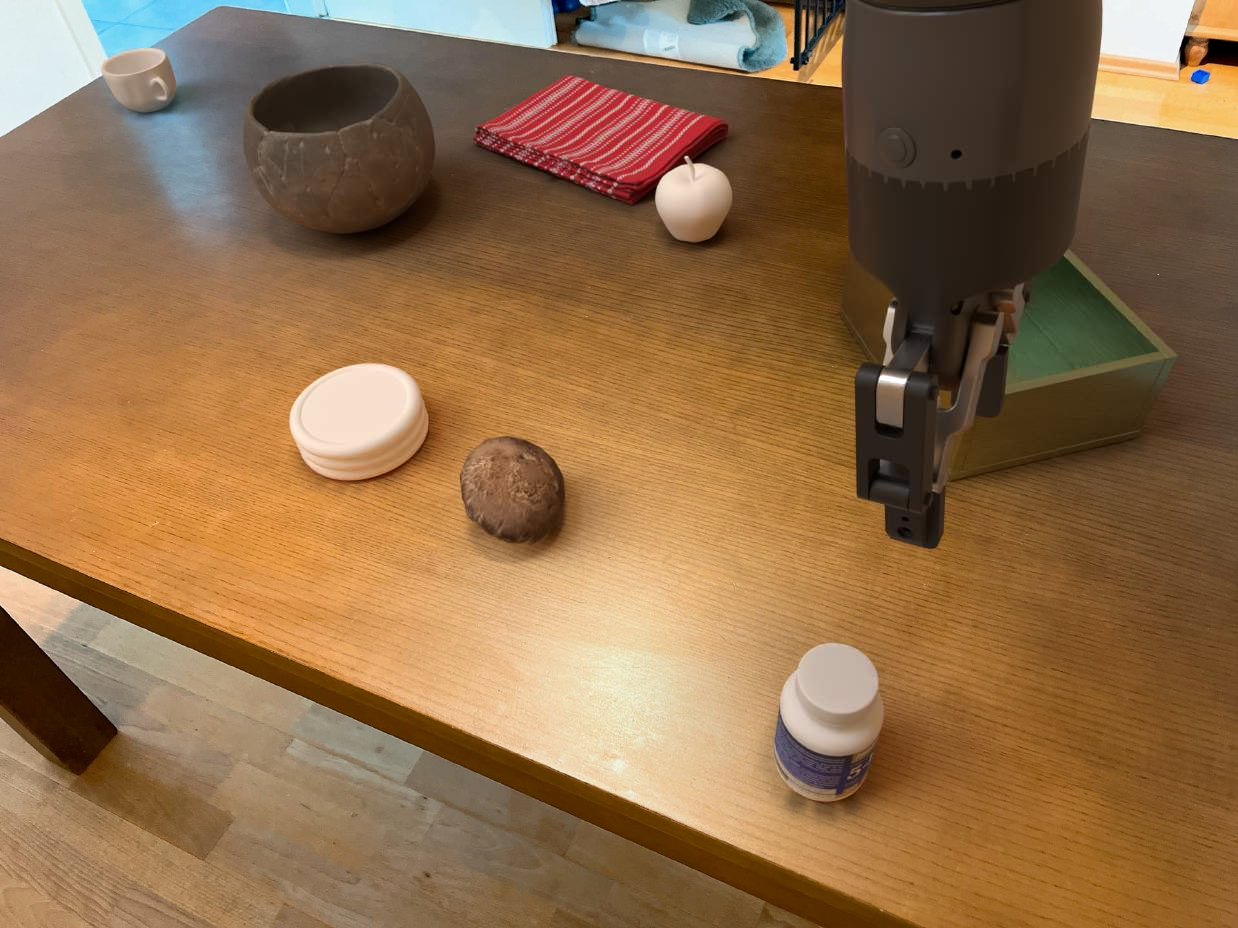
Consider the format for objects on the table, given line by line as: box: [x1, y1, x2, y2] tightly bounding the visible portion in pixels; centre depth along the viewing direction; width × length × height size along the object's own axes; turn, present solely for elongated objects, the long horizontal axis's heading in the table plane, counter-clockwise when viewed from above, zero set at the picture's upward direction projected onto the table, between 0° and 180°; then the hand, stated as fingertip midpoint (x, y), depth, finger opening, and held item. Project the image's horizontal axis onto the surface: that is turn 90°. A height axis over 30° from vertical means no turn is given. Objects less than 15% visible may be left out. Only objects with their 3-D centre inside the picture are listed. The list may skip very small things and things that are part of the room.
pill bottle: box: [773, 642, 885, 802], centre depth 48 cm, size 5×5×9 cm
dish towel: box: [472, 74, 730, 205], centre depth 100 cm, size 17×24×3 cm
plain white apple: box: [654, 156, 733, 243], centre depth 85 cm, size 7×7×8 cm
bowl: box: [242, 62, 436, 234], centre depth 89 cm, size 18×18×13 cm
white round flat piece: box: [288, 362, 430, 481], centre depth 70 cm, size 10×10×4 cm
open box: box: [839, 246, 1179, 482], centre depth 69 cm, size 20×15×8 cm
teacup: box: [100, 47, 177, 113], centre depth 112 cm, size 10×8×5 cm
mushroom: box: [459, 435, 566, 546], centre depth 63 cm, size 8×8×6 cm
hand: (947, 470), depth 41 cm, fingers open, 8 cm apart
